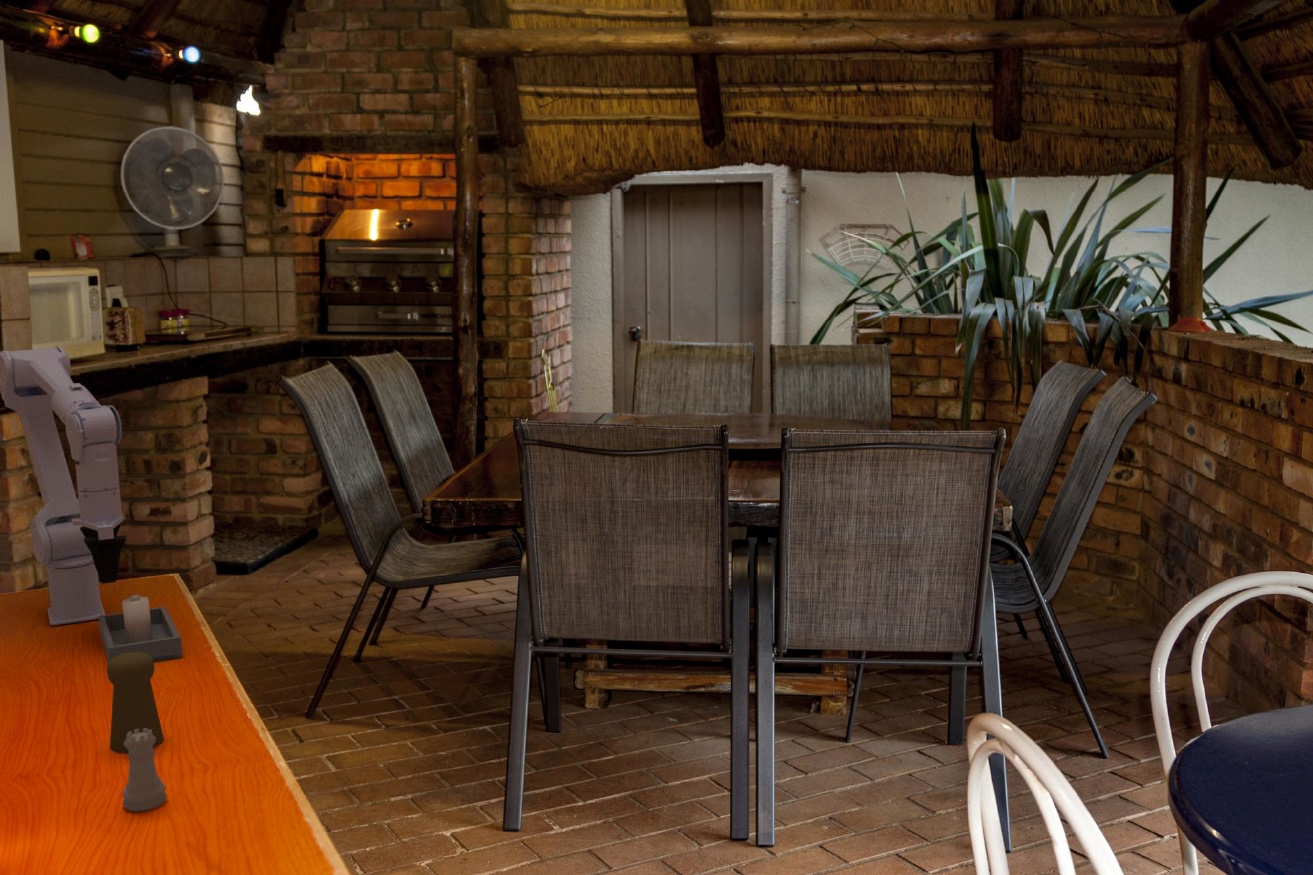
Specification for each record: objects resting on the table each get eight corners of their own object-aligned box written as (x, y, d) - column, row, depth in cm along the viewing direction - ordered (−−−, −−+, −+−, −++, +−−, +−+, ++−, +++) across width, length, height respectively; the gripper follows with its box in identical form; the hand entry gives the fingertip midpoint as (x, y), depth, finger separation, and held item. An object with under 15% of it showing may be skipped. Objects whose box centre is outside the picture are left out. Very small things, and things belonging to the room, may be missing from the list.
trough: (100, 634, 191) (98, 615, 191) (166, 624, 196) (165, 606, 195) (110, 668, 176) (108, 648, 175) (182, 657, 180) (180, 637, 180)
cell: (125, 640, 187) (120, 595, 185) (151, 636, 188) (146, 591, 187) (127, 647, 183) (122, 601, 182) (153, 642, 185) (149, 597, 184)
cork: (151, 753, 147) (144, 663, 145) (100, 753, 147) (92, 663, 145) (172, 733, 153) (165, 646, 151) (123, 733, 153) (115, 646, 151)
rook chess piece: (122, 816, 131) (116, 744, 129) (122, 799, 135) (116, 728, 134) (168, 808, 133) (162, 736, 131) (166, 791, 137) (161, 721, 135)
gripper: (66, 482, 191) (74, 569, 193) (72, 499, 179) (80, 591, 181) (116, 478, 194) (123, 562, 197) (125, 494, 182) (133, 584, 184)
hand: (106, 576), depth 189 cm, fingers open, 7 cm apart
